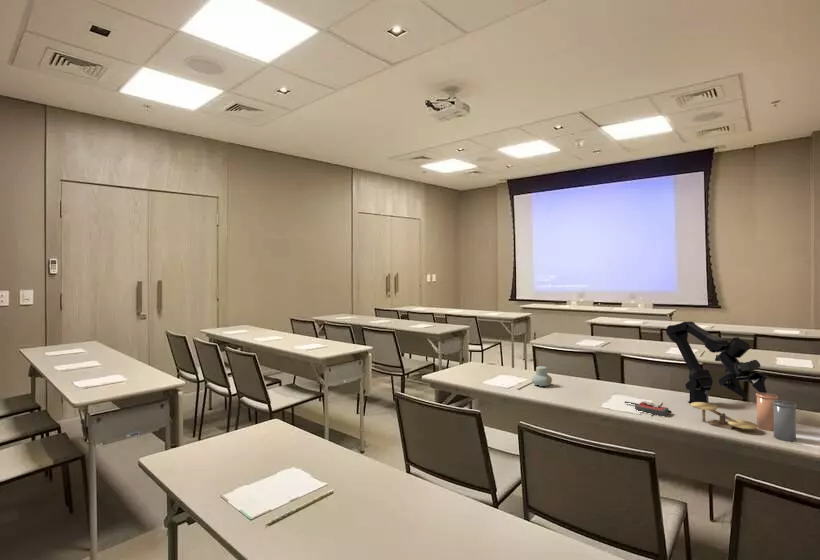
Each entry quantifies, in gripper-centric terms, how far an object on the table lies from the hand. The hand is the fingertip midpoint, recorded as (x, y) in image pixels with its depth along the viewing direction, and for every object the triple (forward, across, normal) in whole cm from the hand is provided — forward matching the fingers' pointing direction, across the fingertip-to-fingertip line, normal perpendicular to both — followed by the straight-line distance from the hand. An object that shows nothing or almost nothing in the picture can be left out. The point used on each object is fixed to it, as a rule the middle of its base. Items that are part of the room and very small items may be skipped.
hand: (756, 397), depth 176 cm
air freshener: (-47, -54, +62) cm, 95 cm away
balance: (+6, -14, +9) cm, 18 cm away
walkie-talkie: (-10, -30, +26) cm, 41 cm away
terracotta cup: (+10, 0, +5) cm, 12 cm away
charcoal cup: (+18, -4, -2) cm, 18 cm away
